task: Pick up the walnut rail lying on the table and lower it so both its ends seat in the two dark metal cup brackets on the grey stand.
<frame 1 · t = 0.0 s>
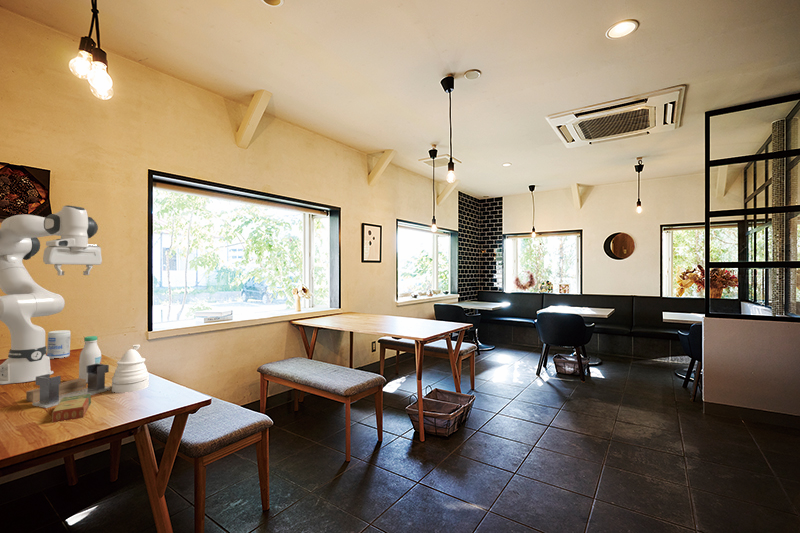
hand: (74, 275, 159), 48 cm above the table, tool pointing down, fingers open, 8 cm apart
milk bottle: (90, 381, 167), on the table
carton: (72, 413, 131), on the table
supplement tub: (58, 357, 208), on the table
honey pot: (130, 388, 158), on the table
bracket stand: (73, 396, 146), on the table
rail: (57, 394, 149), on the table
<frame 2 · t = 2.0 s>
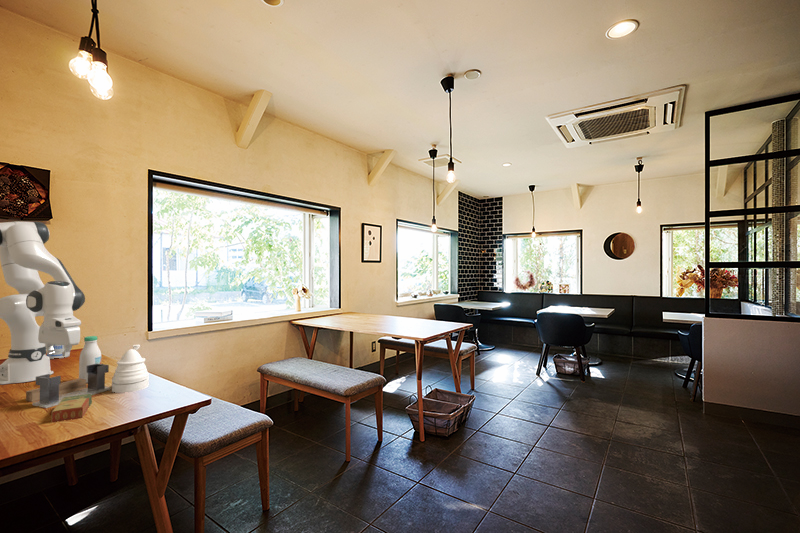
hand: (58, 355, 149), 16 cm above the table, tool pointing down, fingers open, 8 cm apart
nothing on the table moved.
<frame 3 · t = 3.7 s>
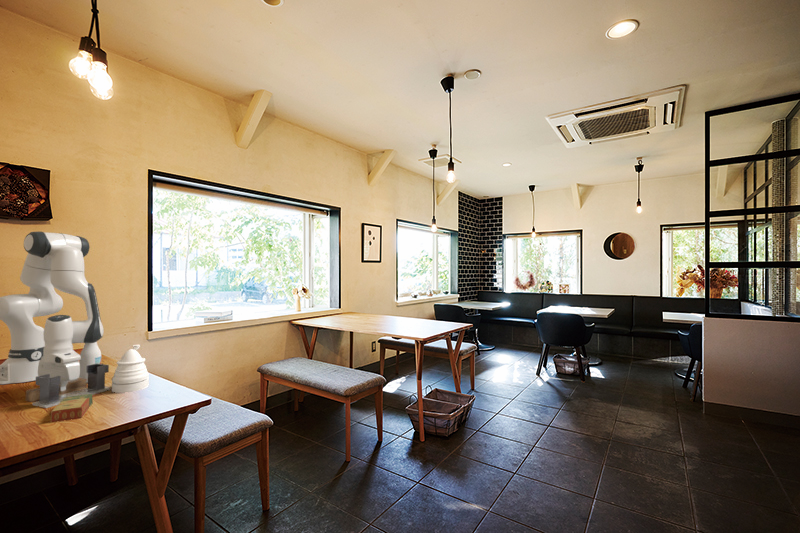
hand: (57, 389, 149), 2 cm above the table, tool pointing down, fingers closed on rail, 4 cm apart
rail: (57, 394, 149), on the table, touching gripper
everything else where it was.
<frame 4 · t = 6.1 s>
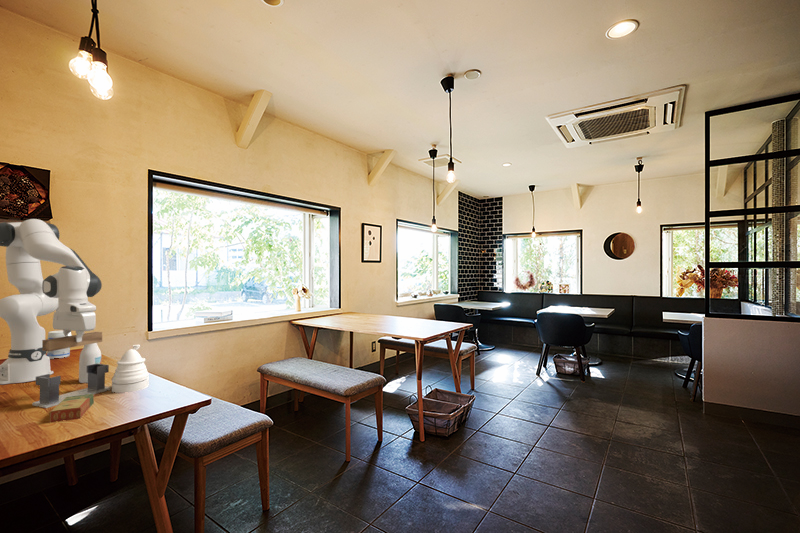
hand: (73, 341, 146), 22 cm above the table, tool pointing down, fingers closed on rail, 4 cm apart
rail: (73, 346, 146), point 20 cm above the table, touching gripper
everything else where it was.
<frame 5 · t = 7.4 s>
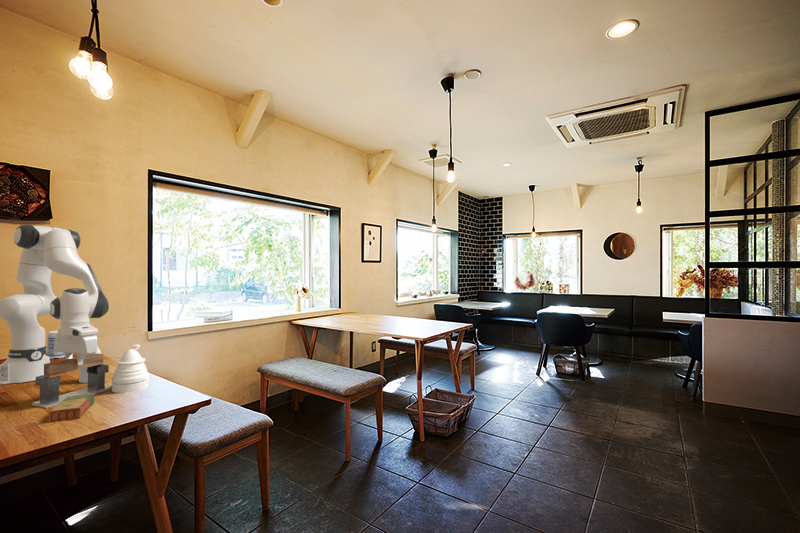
hand: (74, 364, 146), 13 cm above the table, tool pointing down, fingers closed on rail, 4 cm apart
rail: (75, 368, 146), point 11 cm above the table, touching gripper
everything else where it was.
when the fingers open (10 cm above the table, at t = 8.2 s): rail stays where it is, resting on bracket stand.
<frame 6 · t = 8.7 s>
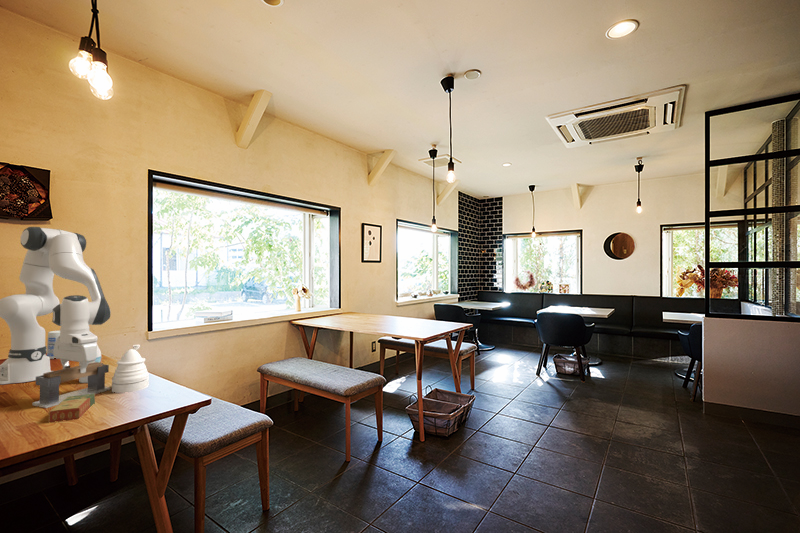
hand: (74, 371, 146), 10 cm above the table, tool pointing down, fingers open, 8 cm apart
rail: (74, 377, 146), point 7 cm above the table, touching bracket stand
everything else where it was.
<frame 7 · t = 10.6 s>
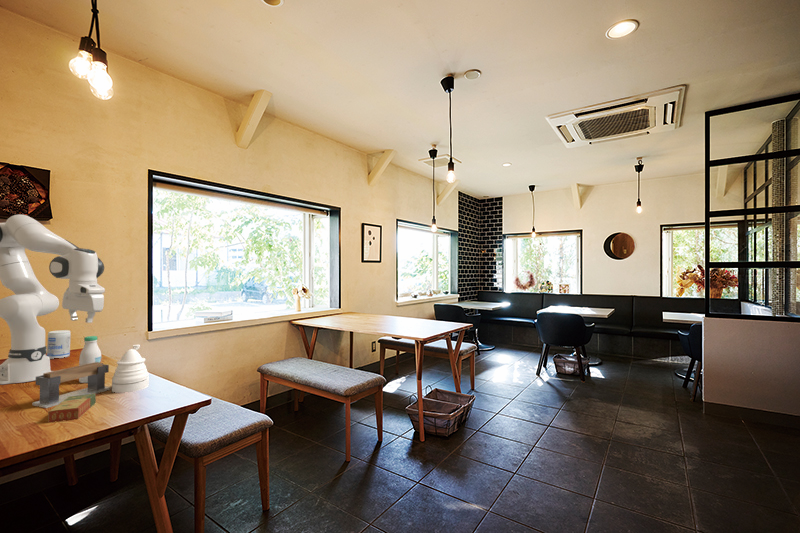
hand: (81, 321, 151), 29 cm above the table, tool pointing down, fingers open, 8 cm apart
nothing on the table moved.
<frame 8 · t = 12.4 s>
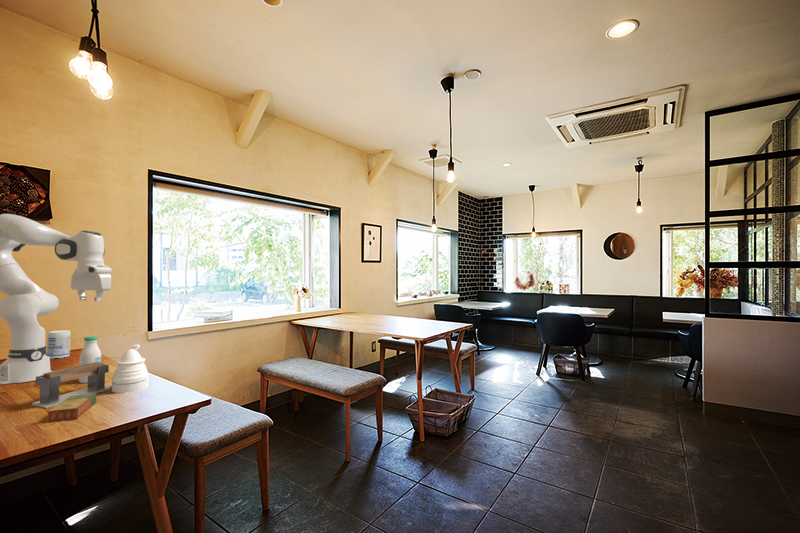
hand: (90, 300, 158), 37 cm above the table, tool pointing down, fingers open, 8 cm apart
at the end: rail 0.1 cm off-centre on the bracket stand, point 7.5 cm above the bracket stand's base; the gripper is holding nothing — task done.
